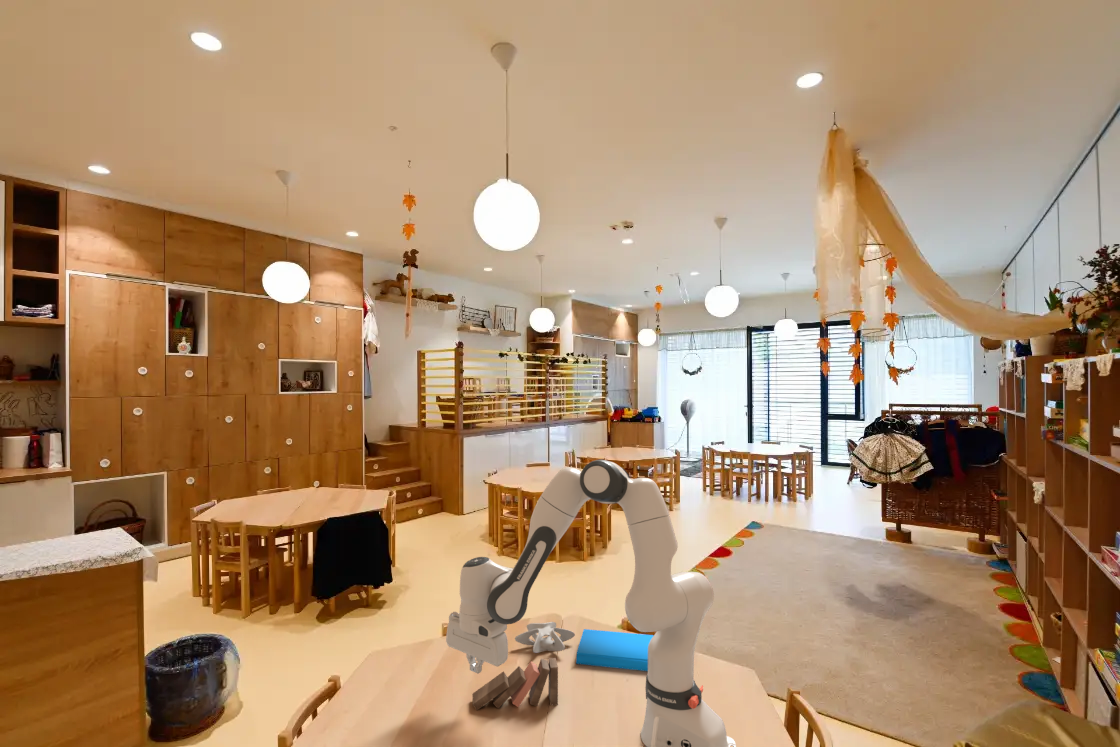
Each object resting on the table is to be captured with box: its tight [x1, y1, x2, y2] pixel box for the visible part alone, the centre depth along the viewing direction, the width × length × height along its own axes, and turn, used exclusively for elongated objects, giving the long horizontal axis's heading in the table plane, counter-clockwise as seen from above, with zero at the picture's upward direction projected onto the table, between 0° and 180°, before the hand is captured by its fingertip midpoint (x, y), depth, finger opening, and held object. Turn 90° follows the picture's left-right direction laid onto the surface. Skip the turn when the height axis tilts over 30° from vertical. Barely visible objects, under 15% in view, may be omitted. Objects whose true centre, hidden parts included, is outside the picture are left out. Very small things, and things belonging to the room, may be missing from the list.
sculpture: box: [514, 621, 576, 654], centre depth 179 cm, size 18×20×6 cm
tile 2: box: [492, 665, 526, 709], centre depth 147 cm, size 2×5×10 cm
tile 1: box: [471, 671, 509, 711], centre depth 146 cm, size 2×5×10 cm
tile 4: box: [528, 658, 550, 707], centre depth 148 cm, size 2×5×10 cm, turn 7°
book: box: [575, 628, 655, 672], centre depth 173 cm, size 17×4×25 cm
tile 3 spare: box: [510, 661, 540, 708], centre depth 148 cm, size 2×5×10 cm
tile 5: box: [547, 657, 559, 706], centre depth 148 cm, size 2×5×10 cm, turn 7°
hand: (475, 671), depth 146 cm, fingers closed
